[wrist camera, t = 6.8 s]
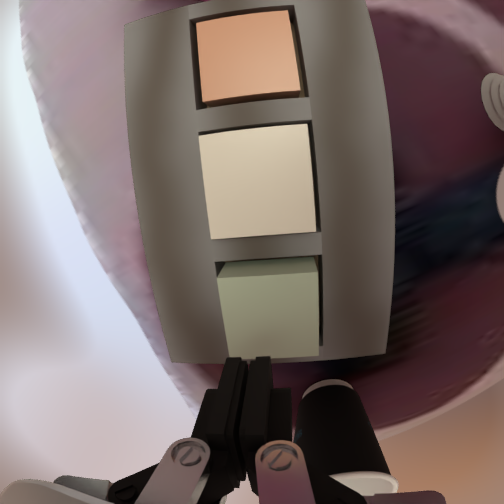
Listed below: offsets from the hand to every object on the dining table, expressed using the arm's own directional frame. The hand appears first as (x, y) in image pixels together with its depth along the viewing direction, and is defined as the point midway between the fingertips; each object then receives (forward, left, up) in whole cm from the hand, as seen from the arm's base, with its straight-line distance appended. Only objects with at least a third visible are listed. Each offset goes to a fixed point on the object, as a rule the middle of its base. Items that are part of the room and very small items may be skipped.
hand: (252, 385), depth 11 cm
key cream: (0, -7, -7) cm, 10 cm away
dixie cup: (-4, +12, -11) cm, 17 cm away
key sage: (0, 0, -7) cm, 7 cm away
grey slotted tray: (0, -7, -11) cm, 13 cm away
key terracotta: (0, -14, -9) cm, 17 cm away
